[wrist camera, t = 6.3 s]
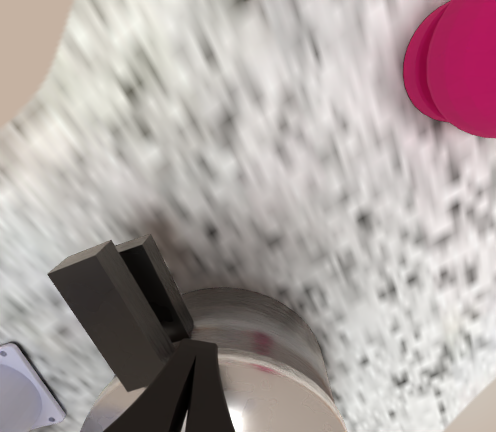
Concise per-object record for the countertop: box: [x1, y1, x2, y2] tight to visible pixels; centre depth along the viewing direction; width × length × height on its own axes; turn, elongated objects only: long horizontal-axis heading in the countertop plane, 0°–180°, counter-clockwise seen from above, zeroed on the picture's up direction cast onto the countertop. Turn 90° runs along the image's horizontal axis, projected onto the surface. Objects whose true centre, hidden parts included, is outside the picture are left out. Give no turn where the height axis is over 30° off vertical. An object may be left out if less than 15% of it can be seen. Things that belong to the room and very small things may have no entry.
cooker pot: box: [113, 234, 335, 404], centre depth 23 cm, size 15×24×6 cm, turn 20°
